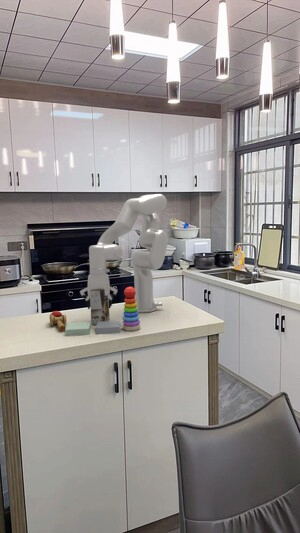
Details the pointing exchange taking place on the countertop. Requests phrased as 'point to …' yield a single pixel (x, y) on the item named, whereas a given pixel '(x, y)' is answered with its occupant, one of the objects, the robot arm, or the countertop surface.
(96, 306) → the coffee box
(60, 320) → the kendama
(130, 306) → the stacking toy
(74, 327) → the sage brick
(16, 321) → the countertop surface
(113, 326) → the grey brick
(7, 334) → the countertop surface
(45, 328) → the countertop surface
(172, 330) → the countertop surface
